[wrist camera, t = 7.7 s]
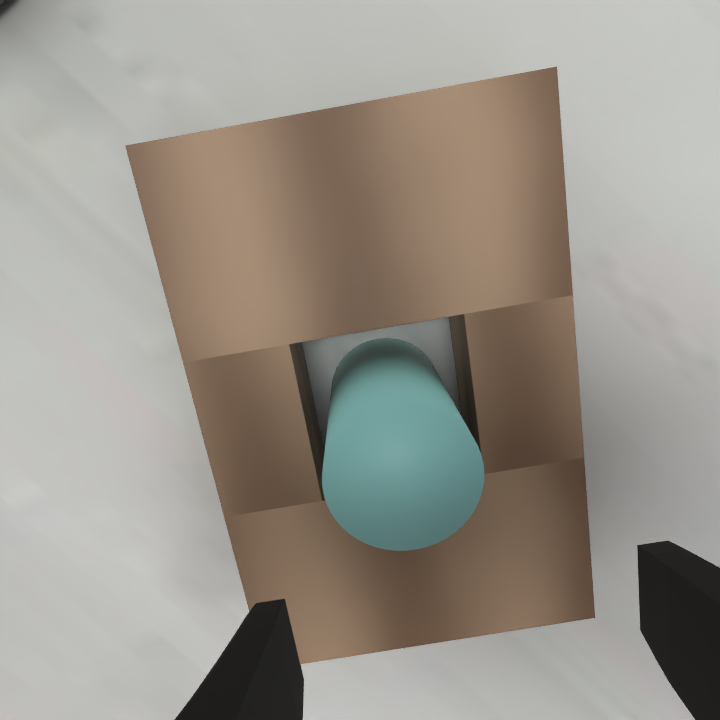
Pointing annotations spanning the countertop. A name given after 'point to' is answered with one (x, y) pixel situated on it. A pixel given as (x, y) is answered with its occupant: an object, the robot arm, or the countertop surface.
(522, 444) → the socket board
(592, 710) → the countertop surface
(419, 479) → the peg
